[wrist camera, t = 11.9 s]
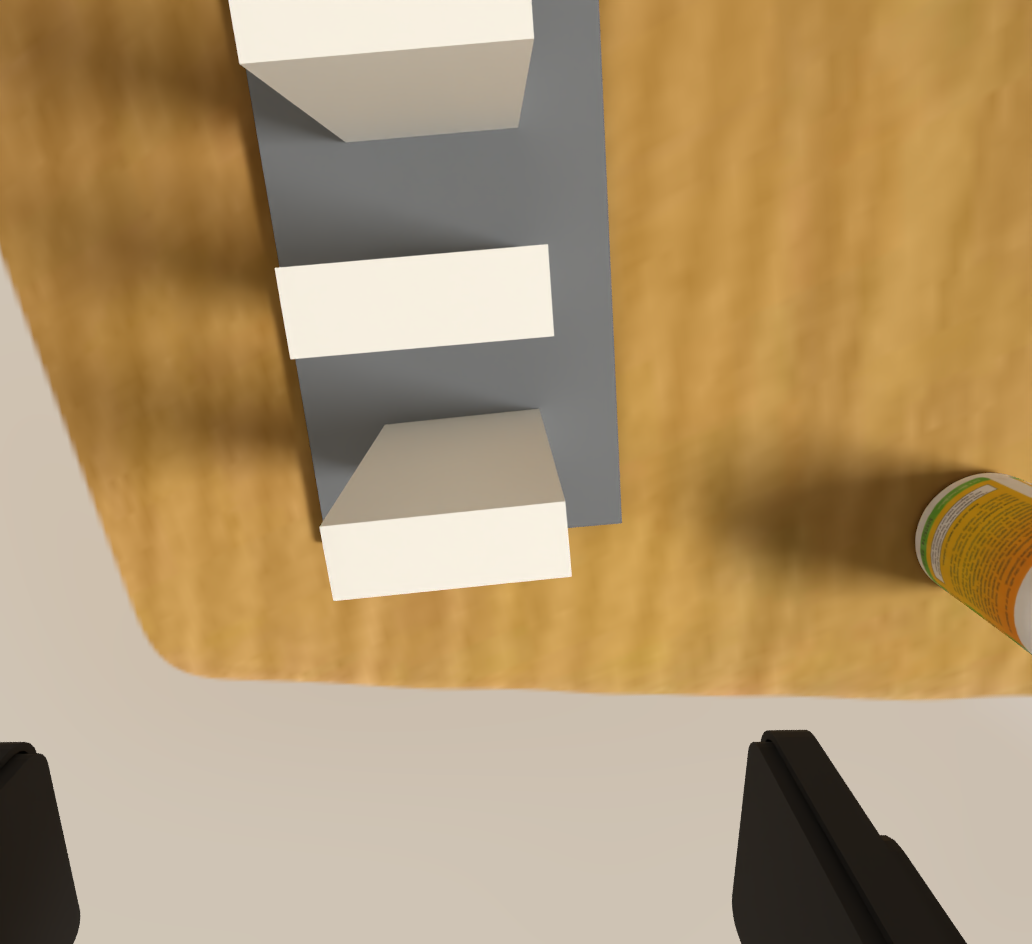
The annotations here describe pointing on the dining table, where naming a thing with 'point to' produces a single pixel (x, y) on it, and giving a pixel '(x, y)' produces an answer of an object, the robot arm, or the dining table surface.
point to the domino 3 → (449, 509)
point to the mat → (457, 228)
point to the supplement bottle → (983, 549)
